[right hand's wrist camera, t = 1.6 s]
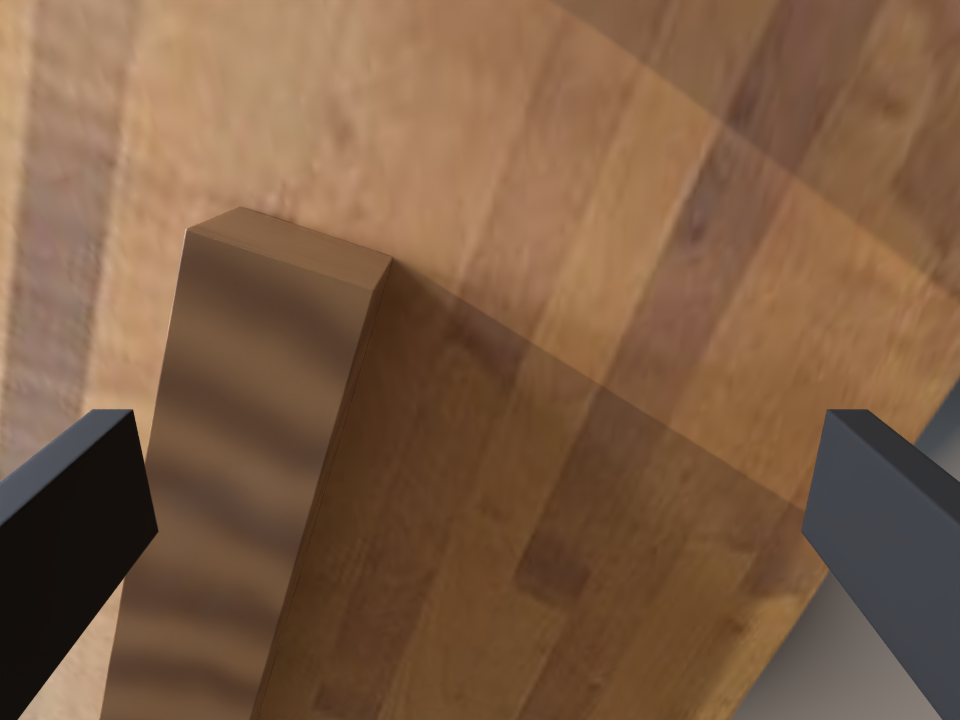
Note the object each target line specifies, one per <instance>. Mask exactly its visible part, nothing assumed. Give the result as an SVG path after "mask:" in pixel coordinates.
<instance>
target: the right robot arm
mask: <svg viewBox="0 0 960 720" xmlns="http://www.w3.org/2000/svg"><path fill="white" fill-rule="evenodd" d="M158 532H159V531H158V526H157V521H156V516H155V512H154V507H153V502H152V497H151V493H150V488H149V483H148V478H147V474H146V469H145V464H144V459H143V455H142V450H141V445H140V440H139V436H138V431H137V426H136V421H135V417H134V412H133V409H92V410H91V411H90V412H89V413H87V414H86V415H85V416H84V417H82V418H81V419H80V420H79V421H77V422H76V423H75V424H73V425H72V426H71V427H70V428H68V429H67V430H66V431H65V432H63V433H62V434H61V435H60V436H58V437H57V438H56V439H54V440H53V441H52V442H51V443H49V444H48V445H47V446H46V447H44V448H43V449H42V450H41V451H39V452H38V453H37V454H35V455H34V456H33V457H32V458H30V459H29V460H28V461H27V462H25V463H24V464H23V465H22V466H20V467H19V468H18V469H16V470H15V471H14V472H13V473H11V474H10V475H9V476H8V477H6V478H5V479H4V480H3V481H1V482H0V720H18V718H19V717H20V716H21V714H22V713H23V712H24V710H25V709H26V708H27V706H28V705H29V704H30V702H31V701H32V700H33V698H34V697H35V696H36V694H37V693H38V692H39V690H40V689H41V688H42V686H43V685H44V684H45V682H46V681H47V680H48V678H49V677H50V676H51V674H52V673H53V672H54V670H55V669H56V668H57V666H58V665H59V664H60V662H61V661H62V660H63V658H64V657H65V656H66V654H67V653H68V652H69V650H70V649H71V648H72V646H73V645H74V644H75V642H76V641H77V640H78V638H79V637H80V636H81V634H82V633H83V632H84V630H85V629H86V628H87V626H88V625H89V624H90V622H91V621H92V620H93V619H94V617H95V616H96V615H97V613H98V612H99V611H100V609H101V608H102V607H103V605H104V604H105V603H106V601H107V600H108V599H109V597H110V596H111V595H112V593H113V592H114V591H115V589H116V588H117V587H118V585H119V584H120V583H121V581H122V580H123V579H124V577H125V576H126V575H127V573H128V572H129V571H130V569H131V568H132V567H133V565H134V564H135V563H136V561H137V560H138V559H139V557H140V556H141V555H142V553H143V552H144V551H145V549H146V548H147V547H148V545H149V544H150V543H151V541H152V540H153V539H154V537H155V536H156V535H157V533H158ZM801 532H802V533H803V535H804V536H805V537H806V539H807V540H808V541H809V543H810V544H811V545H812V547H813V548H814V549H815V551H816V552H817V553H818V555H819V556H820V557H821V559H822V560H823V561H824V563H825V564H826V565H827V567H828V568H829V569H830V571H831V572H832V573H833V575H834V576H835V577H836V579H837V580H838V581H839V583H840V584H841V585H842V587H843V588H844V589H845V590H846V592H847V593H848V595H849V596H850V597H851V599H852V600H853V601H854V603H855V604H856V605H857V607H858V608H859V609H860V611H861V612H862V613H863V614H864V616H865V617H866V619H867V620H868V621H869V623H870V624H871V625H872V626H873V628H874V629H875V630H876V632H877V633H878V634H879V636H880V637H881V638H882V640H883V641H884V642H885V644H886V645H887V646H888V648H889V649H890V650H891V652H892V653H893V654H894V656H895V657H896V658H897V660H898V661H899V662H900V664H901V665H902V666H903V668H904V669H905V670H906V672H907V673H908V674H909V676H910V677H911V678H912V680H913V681H914V682H915V684H916V685H917V686H918V688H919V689H920V690H921V692H922V693H923V694H924V696H925V697H926V698H927V700H928V701H929V702H930V704H931V705H932V706H933V708H934V709H935V710H936V712H937V713H938V714H939V716H940V717H941V718H942V720H960V482H959V481H957V480H956V479H955V478H954V477H952V476H951V475H950V474H949V473H947V472H946V471H945V470H944V469H942V468H941V467H940V466H938V465H937V464H936V463H935V462H933V461H932V460H931V459H930V458H928V457H927V456H926V455H925V454H923V453H922V452H921V451H919V450H918V449H917V448H916V447H914V446H913V445H912V444H911V443H909V442H908V441H907V440H906V439H904V438H903V437H902V436H900V435H899V434H898V433H897V432H895V431H894V430H893V429H892V428H890V427H889V426H888V425H887V424H885V423H884V422H883V421H881V420H880V419H879V418H878V417H876V416H875V415H874V414H873V413H871V412H870V411H869V410H868V409H827V412H826V417H825V421H824V426H823V431H822V436H821V440H820V445H819V450H818V455H817V459H816V464H815V469H814V474H813V478H812V483H811V488H810V493H809V497H808V502H807V507H806V512H805V516H804V521H803V526H802V531H801Z"/></svg>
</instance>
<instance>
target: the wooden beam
mask: <svg viewBox="0 0 960 720" xmlns="http://www.w3.org/2000/svg"><path fill="white" fill-rule="evenodd" d="M392 261H393V257H392V256H389V255H386V254H383V253H380V252H377V251H374V250H371V249H368V248H365V247H362V246H359V245H356V244H353V243H350V242H347V241H343V240H340V239H337V238H334V237H331V236H328V235H325V234H322V233H319V232H316V231H313V230H310V229H307V228H304V227H301V226H298V225H295V224H292V223H289V222H286V221H283V220H280V219H277V218H274V217H271V216H268V215H265V214H262V213H258V212H255V211H252V210H249V209H246V208H243V207H237V208H234V209H232V210H230V211H227V212H225V213H222V214H220V215H218V216H215V217H213V218H211V219H208V220H206V221H204V222H201V223H199V224H196V225H194V226H192V227H189V228H187V229H186V231H185V236H184V242H183V248H182V253H181V259H180V265H179V270H178V276H177V282H176V287H175V293H174V299H173V304H172V310H171V316H170V321H169V327H168V333H167V338H166V344H165V350H164V355H163V361H162V367H161V372H160V378H159V384H158V389H157V395H156V400H155V406H154V412H153V417H152V423H151V429H150V434H149V440H148V446H147V451H146V457H145V463H144V464H145V469H146V474H147V478H148V483H149V488H150V493H151V497H152V502H153V507H154V512H155V516H156V521H157V526H158V531H159V532H158V533H157V535H156V536H155V537H154V539H153V540H152V541H151V543H150V544H149V545H148V547H147V548H146V549H145V551H144V552H143V553H142V555H141V556H140V557H139V559H138V560H137V561H136V563H135V564H134V565H133V567H132V568H131V569H130V571H129V572H128V573H127V575H126V576H125V577H124V582H123V587H122V593H121V599H120V604H119V610H118V616H117V621H116V627H115V633H114V638H113V644H112V650H111V655H110V661H109V667H108V672H107V678H106V684H105V689H104V695H103V701H102V706H101V712H100V718H99V720H257V719H258V716H259V712H260V709H261V706H262V702H263V699H264V695H265V692H266V689H267V685H268V682H269V678H270V675H271V672H272V668H273V665H274V661H275V658H276V655H277V651H278V648H279V644H280V641H281V638H282V634H283V631H284V627H285V624H286V621H287V617H288V614H289V610H290V607H291V604H292V600H293V597H294V594H295V590H296V587H297V583H298V580H299V577H300V573H301V570H302V566H303V563H304V560H305V556H306V553H307V549H308V546H309V543H310V539H311V536H312V532H313V529H314V526H315V522H316V519H317V515H318V512H319V509H320V505H321V502H322V498H323V495H324V492H325V488H326V485H327V481H328V478H329V475H330V471H331V468H332V464H333V461H334V458H335V454H336V451H337V447H338V444H339V441H340V437H341V434H342V430H343V427H344V424H345V420H346V417H347V413H348V410H349V407H350V403H351V400H352V396H353V393H354V390H355V386H356V383H357V379H358V376H359V373H360V369H361V366H362V363H363V359H364V356H365V352H366V349H367V346H368V342H369V339H370V335H371V332H372V329H373V325H374V322H375V318H376V315H377V312H378V308H379V305H380V301H381V298H382V295H383V291H384V288H385V284H386V281H387V278H388V274H389V271H390V267H391V264H392Z"/></svg>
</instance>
